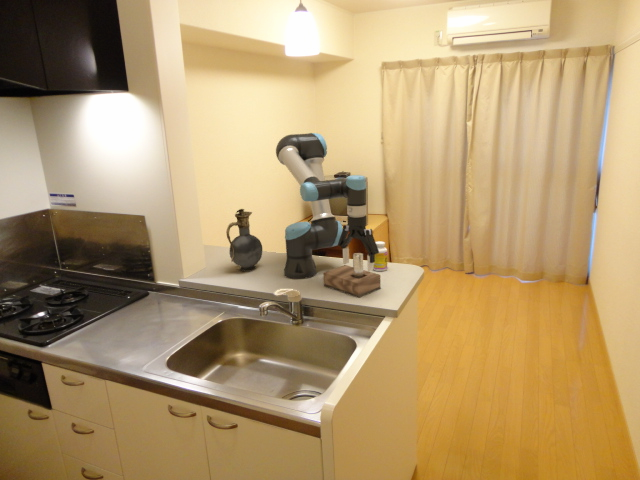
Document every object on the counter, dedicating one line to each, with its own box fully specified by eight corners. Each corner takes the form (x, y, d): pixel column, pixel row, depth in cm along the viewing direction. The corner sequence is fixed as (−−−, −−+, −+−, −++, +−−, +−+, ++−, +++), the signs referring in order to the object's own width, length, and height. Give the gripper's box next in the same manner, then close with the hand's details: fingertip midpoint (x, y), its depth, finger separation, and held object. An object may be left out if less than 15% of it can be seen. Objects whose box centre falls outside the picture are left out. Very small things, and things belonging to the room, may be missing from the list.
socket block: (324, 285, 192) (323, 272, 191) (345, 277, 200) (345, 264, 199) (358, 297, 178) (358, 283, 176) (380, 288, 186) (380, 274, 184)
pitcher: (267, 265, 223) (262, 205, 215) (240, 277, 208) (233, 213, 200) (250, 262, 229) (245, 204, 221) (223, 274, 213) (216, 211, 206)
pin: (351, 287, 186) (350, 254, 183) (358, 284, 189) (357, 252, 185) (358, 289, 183) (358, 256, 180) (365, 286, 186) (365, 254, 182)
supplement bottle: (386, 271, 206) (386, 244, 202) (372, 271, 207) (371, 244, 204) (387, 267, 212) (387, 240, 209) (373, 266, 213) (373, 240, 210)
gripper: (328, 213, 185) (330, 262, 190) (374, 221, 167) (375, 275, 172) (341, 209, 190) (342, 258, 195) (387, 217, 172) (388, 270, 177)
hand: (358, 266), depth 184 cm, fingers open, 13 cm apart
